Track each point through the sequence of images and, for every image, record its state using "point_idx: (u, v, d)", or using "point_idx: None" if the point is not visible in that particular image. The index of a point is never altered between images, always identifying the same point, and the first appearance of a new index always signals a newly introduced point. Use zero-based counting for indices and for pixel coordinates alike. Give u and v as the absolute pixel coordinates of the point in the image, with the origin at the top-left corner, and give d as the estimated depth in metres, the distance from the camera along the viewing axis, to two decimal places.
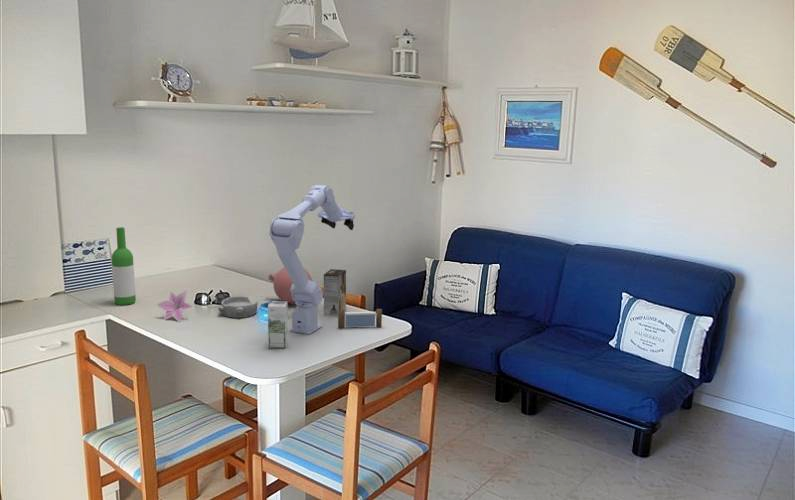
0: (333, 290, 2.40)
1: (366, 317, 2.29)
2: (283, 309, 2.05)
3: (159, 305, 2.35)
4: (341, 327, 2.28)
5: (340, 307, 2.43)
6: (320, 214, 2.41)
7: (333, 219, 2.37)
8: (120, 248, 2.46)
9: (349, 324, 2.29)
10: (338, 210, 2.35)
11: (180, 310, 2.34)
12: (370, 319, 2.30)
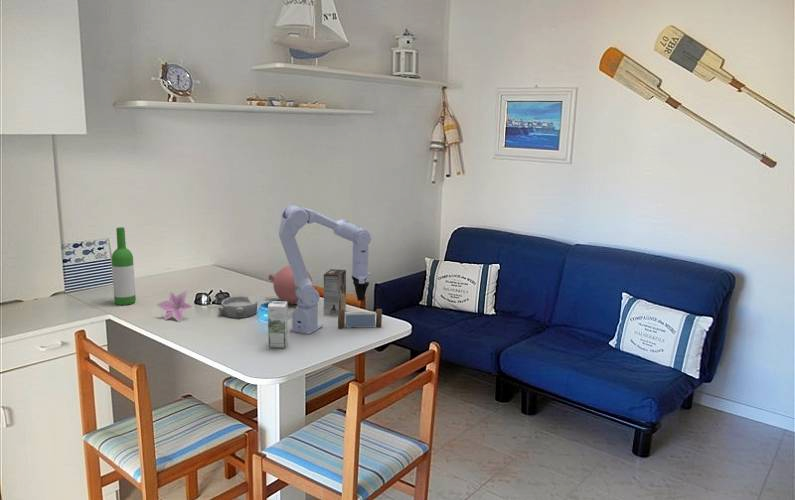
0: (333, 290, 2.40)
1: (366, 317, 2.29)
2: (283, 309, 2.05)
3: (159, 305, 2.35)
4: (341, 327, 2.28)
5: (340, 307, 2.43)
6: None
7: (352, 271, 2.31)
8: (120, 248, 2.46)
9: (349, 324, 2.29)
10: (360, 266, 2.29)
11: (180, 310, 2.34)
12: (370, 319, 2.30)
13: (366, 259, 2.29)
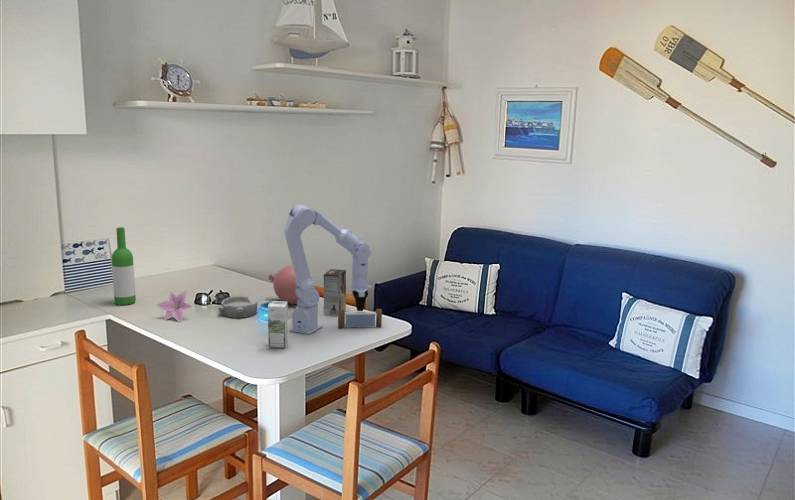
0: (333, 290, 2.40)
1: (366, 317, 2.29)
2: (283, 309, 2.05)
3: (159, 305, 2.34)
4: (341, 327, 2.28)
5: (340, 307, 2.43)
6: None
7: (352, 285, 2.32)
8: (120, 248, 2.46)
9: (349, 324, 2.29)
10: (360, 279, 2.30)
11: (180, 310, 2.34)
12: (370, 319, 2.30)
13: (366, 272, 2.30)
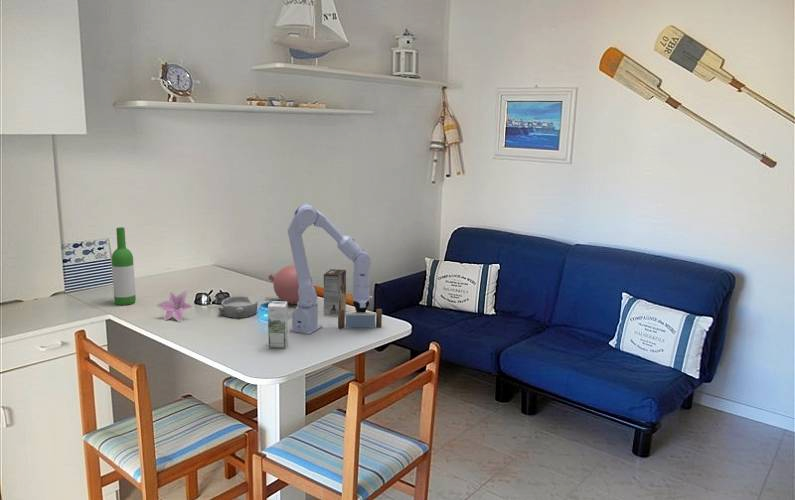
0: (333, 290, 2.40)
1: (366, 318, 2.29)
2: (283, 309, 2.05)
3: (159, 305, 2.34)
4: (341, 327, 2.28)
5: (340, 307, 2.43)
6: None
7: (353, 295, 2.28)
8: (120, 248, 2.46)
9: (349, 324, 2.29)
10: (361, 289, 2.26)
11: (180, 310, 2.33)
12: (370, 320, 2.29)
13: (366, 283, 2.26)
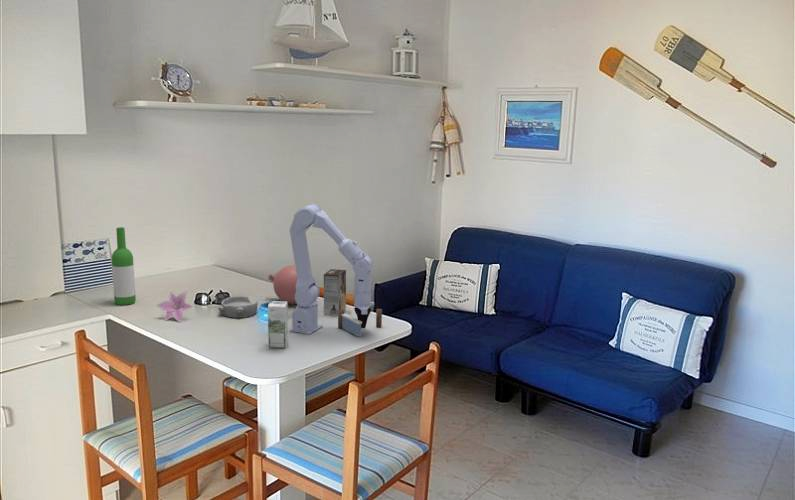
0: (333, 290, 2.40)
1: (353, 324, 2.21)
2: (283, 309, 2.05)
3: (159, 305, 2.34)
4: (341, 327, 2.28)
5: (340, 307, 2.43)
6: None
7: (354, 301, 2.21)
8: (120, 248, 2.46)
9: (344, 326, 2.27)
10: (362, 295, 2.19)
11: (180, 310, 2.33)
12: (355, 327, 2.21)
13: (364, 289, 2.18)
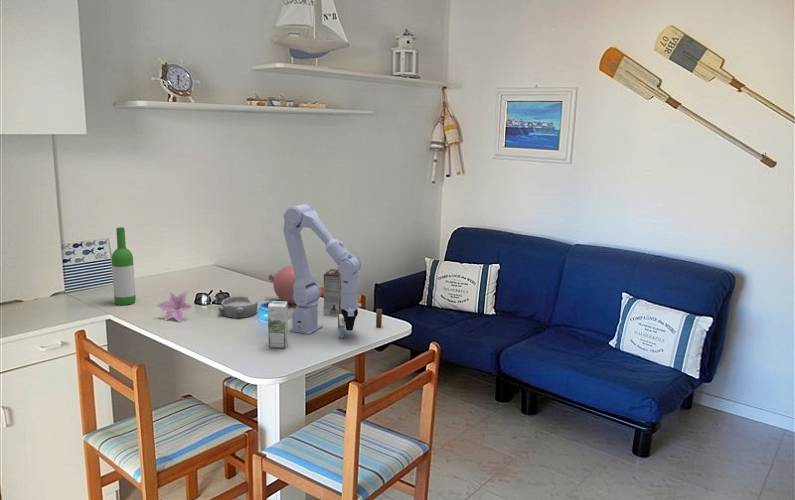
0: (333, 290, 2.40)
1: None
2: (283, 309, 2.05)
3: (159, 306, 2.34)
4: None
5: (340, 307, 2.43)
6: None
7: (341, 303, 2.18)
8: (120, 248, 2.46)
9: None
10: (349, 297, 2.16)
11: (180, 310, 2.33)
12: None
13: (349, 291, 2.15)
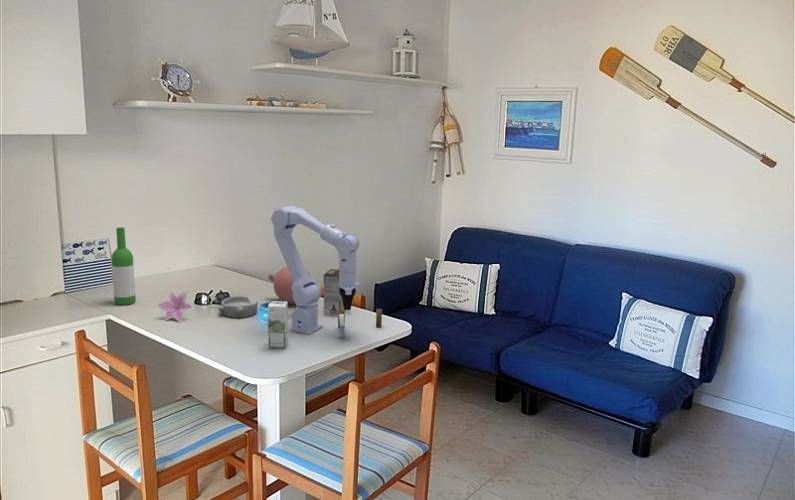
0: (333, 290, 2.40)
1: None
2: (283, 309, 2.05)
3: (159, 306, 2.34)
4: None
5: (340, 307, 2.43)
6: None
7: (339, 282, 2.17)
8: (120, 248, 2.46)
9: None
10: (347, 276, 2.14)
11: (181, 311, 2.33)
12: None
13: (347, 269, 2.14)
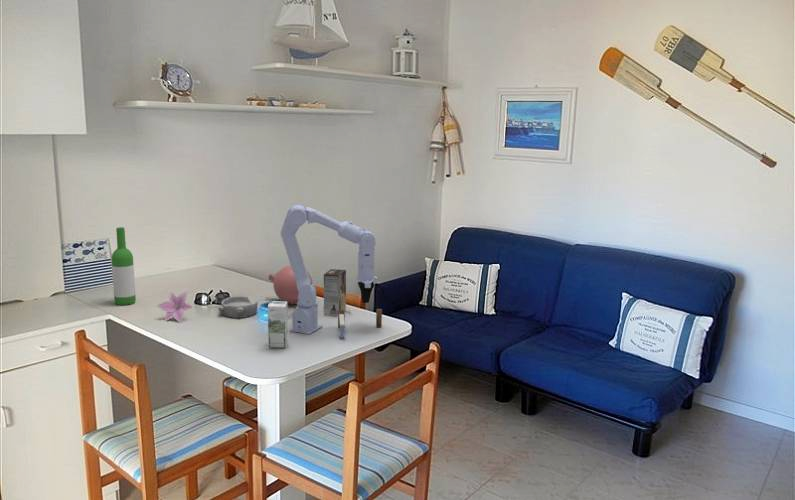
0: (333, 290, 2.40)
1: None
2: (283, 309, 2.05)
3: (159, 306, 2.34)
4: None
5: (340, 307, 2.43)
6: None
7: (358, 275, 2.26)
8: (120, 248, 2.46)
9: None
10: (366, 270, 2.23)
11: (181, 311, 2.33)
12: None
13: (370, 263, 2.23)
